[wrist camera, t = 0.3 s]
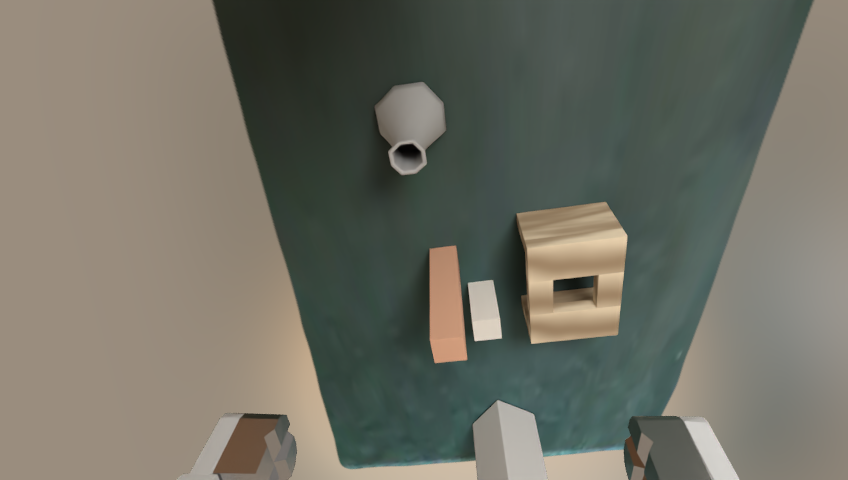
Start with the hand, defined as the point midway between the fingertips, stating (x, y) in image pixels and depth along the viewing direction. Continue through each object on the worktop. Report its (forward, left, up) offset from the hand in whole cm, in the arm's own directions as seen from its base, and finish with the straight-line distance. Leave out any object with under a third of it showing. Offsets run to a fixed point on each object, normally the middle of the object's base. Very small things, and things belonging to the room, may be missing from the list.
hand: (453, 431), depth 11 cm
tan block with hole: (+26, +12, -40) cm, 49 cm away
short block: (+30, +2, -40) cm, 50 cm away
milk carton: (+57, +3, -40) cm, 69 cm away
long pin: (+24, -2, -40) cm, 46 cm away
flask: (+6, -3, -40) cm, 40 cm away
